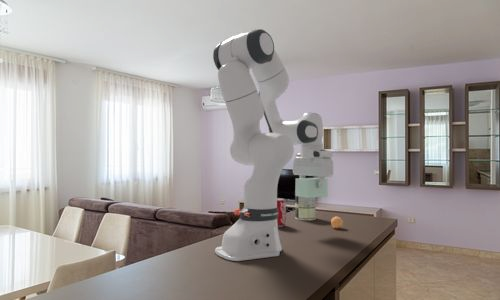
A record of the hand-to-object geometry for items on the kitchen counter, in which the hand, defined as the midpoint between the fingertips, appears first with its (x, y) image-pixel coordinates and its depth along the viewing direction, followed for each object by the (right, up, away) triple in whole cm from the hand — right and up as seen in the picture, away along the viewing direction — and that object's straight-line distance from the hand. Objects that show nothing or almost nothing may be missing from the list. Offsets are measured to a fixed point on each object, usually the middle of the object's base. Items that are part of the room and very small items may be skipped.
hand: (311, 187), depth 139 cm
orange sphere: (+12, -16, +8) cm, 22 cm away
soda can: (-13, -19, +13) cm, 26 cm away
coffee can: (+2, -19, +30) cm, 36 cm away
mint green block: (0, -4, 0) cm, 4 cm away
